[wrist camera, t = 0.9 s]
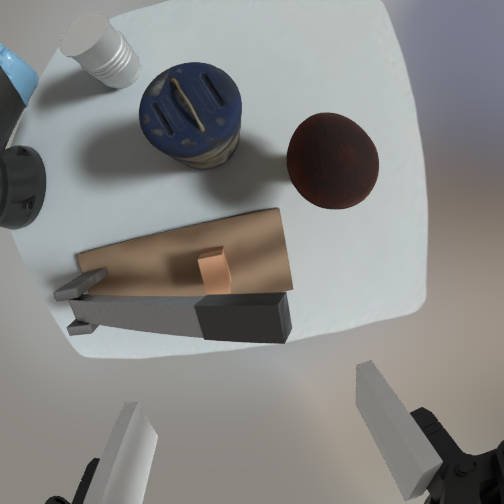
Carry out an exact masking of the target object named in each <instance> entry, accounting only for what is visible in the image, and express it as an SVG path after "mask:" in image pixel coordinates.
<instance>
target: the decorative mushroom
mask: <svg viewBox="0 0 504 504" xmlns="http://www.w3.org/2000/svg"><path fill="white" fill-rule="evenodd" d="M287 168H288V172H289V176H290V179H291V181H292V183H293V185H294V186H295V188H296V189H297V191H298V192H299V193H300V194H301V195H302V196H303V197H304V198H305V199H306V200H308V201H309V202H310V203H312V204H314V205H316V206H318V207H321V208H326V209H345V208H349V207H352V206H355V205H357V204H358V203H360V202H362V201H363V200H364V199H365V198H366V197H367V196H368V195H369V194H370V192H371V191H372V189H373V187H374V185H375V183H376V180H377V177H378V172H379V158H378V153H377V150H376V147H375V145H374V143H373V142H372V140H371V139H370V137H369V136H368V135H367V133H366V132H365V131H364V130H363V129H362V128H361V127H360V126H359V125H357V124H356V123H355V122H354V121H352V120H350V119H349V118H347V117H345V116H342V115H339V114H335V113H318V114H315V115H312V116H310V117H309V118H307V119H306V120H305V121H303V122H302V123H301V124H300V125H299V126H298V128H297V129H296V130H295V132H294V134H293V136H292V138H291V140H290V143H289V147H288V151H287Z"/></svg>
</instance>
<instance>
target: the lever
mask: <svg viewBox="0 0 504 504" xmlns="http://www.w3.org/2000/svg"><path fill="white" fill-rule="evenodd" d="M69 302H70V305H71V308H72V310H73V313H74V315H75V318H76V320H77V322H78V323H81V322H87V323H93V324H98V325H104V326H110V327H116V328H123V329H129V330H136V331H144V332H152V333H160V334H168V335H178V336H188V337H199V338H204V340H216V341H231V342H250V343H280V344H285V342H286V340H287V338H288V336H289V334H290V332H291V330H292V324H291V318H290V312H289V306H288V300H287V294H286V292H275V293H248V294H207V295H206V296H118V295H87V294H82V295H80V296H79V297H78V298H73V299H69Z"/></svg>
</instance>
